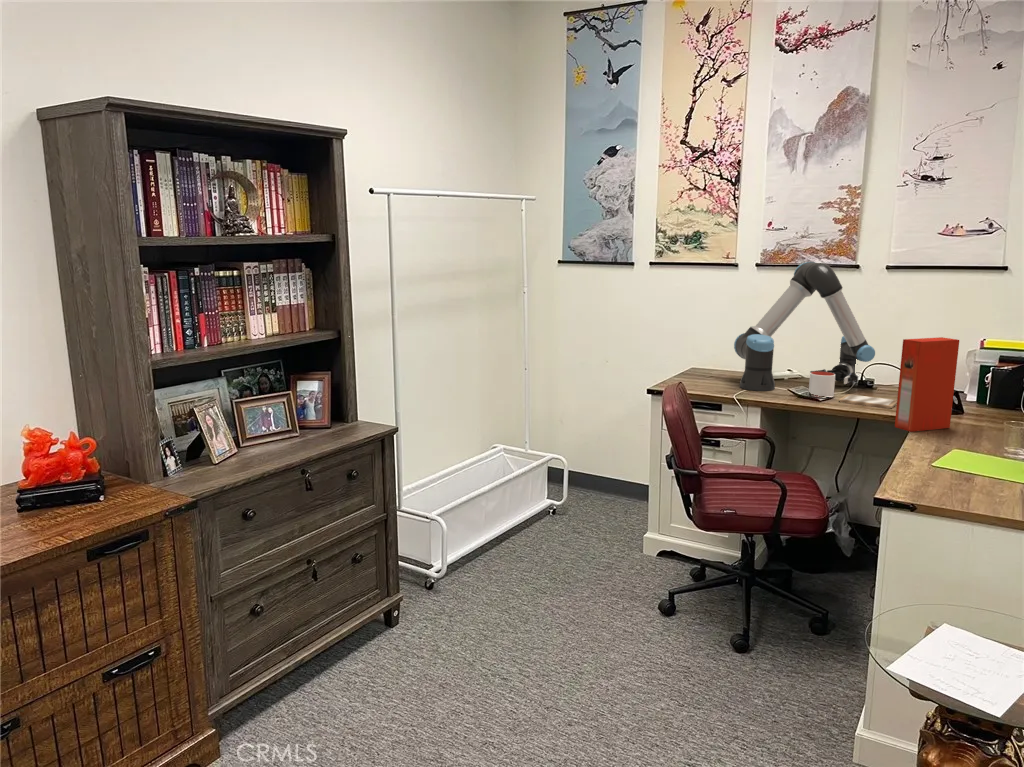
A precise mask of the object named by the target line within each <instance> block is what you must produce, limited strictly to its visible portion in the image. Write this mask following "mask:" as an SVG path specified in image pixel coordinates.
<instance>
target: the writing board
mask: <svg viewBox="0 0 1024 767" xmlns="http://www.w3.org/2000/svg"><path fill="white" fill-rule="evenodd" d="M838 401H840V402H839V403H841V402H845V403H844V404H849V403H851V404H850V405H857V404H858V405H859V406H865V405H866V407H872V406H873V407H874V408H880V407H883V408H882V409H888V408H892V407H893V408H894V407H895V406H897V405H896V404H897V399H896V400H895V399H890V398H882V397H873V396H864V395H857V394H849V393H848V394H846V395H844V396H843V397H841V398H839V399H838ZM893 408H892V409H893Z"/></svg>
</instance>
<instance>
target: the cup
mask: <svg viewBox="0 0 1024 767" xmlns="http://www.w3.org/2000/svg"><path fill="white" fill-rule="evenodd" d="M808 383H809V384H808V393H809V392H810V393H811V394H814V395H818V396H833V397H834V396H835V385H836V384H835V383H836V380H835V374H834V373H830V372H811V373H810V372H809V382H808Z"/></svg>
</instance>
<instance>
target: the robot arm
mask: <svg viewBox="0 0 1024 767" xmlns="http://www.w3.org/2000/svg"><path fill="white" fill-rule="evenodd" d="M842 285H843V284H841V281H840V280H839V278H838V276H837V274H836V272H835V271H834V269H833V268H832V267H831V266H830V265H828V264H826V263H825V262H824V263H823V262H815V261H806V262H804V263H803V262H802V263H801V264H799V265H798V266H797V267H796V268H795V270H794V273H793V276H792V278H791V279H790V280H789V286H788V287H787V289H786V290H785V291H783V293H782V294H781V295H780V296H779V298H778V299H777V300H776V301H775V303H773V305H772V306H771V307H770V308H769V309H768V311H767V312H766V313H765V314H764V316H762V317H761V319H760V320H759V321H758V322H757V323H756V325H754V326H753V325H752V326H750V327H749V328H748V329H747V330H746V331H745V333H744V332H743V333H741V334H739V335H738V336H737V337H736V338H735V340H734V343H733V349H734V351H735V353H736V354H737V356H738V357H740V358H741V359H743V360H745V361H744V362H745V364H744V372H743V374H742V376H741V379H740V381H739V388H740V389H743V390H749V391H756V392H758V391H759V392H767V391H774V390H775V388H776V382H775V378H774V375H773V365H774V364H773V362H774V348H775V341H774V339H773V337H772V336H773V335H774V334H775V333H776V332H777V331H778V329H779V328H780V327H781V326H782V325H783V323H784V322H785V321H786V320H787V319H788V318H789V317H790V315H792V313H793V312H794V311H795V310H796V308H797V307H799V305H800V304H801V303H802V302H803V300H804V299H805V298H807V297H808V298H809V297H811V296H813V294H814V293H815V292H816V291H817V293H818V294H819V297H820V298H821V299H824V301H825V303H826V305H827V306H828V308H829V310H830V312H831V314H832V316H833V317H834V320H835V322H836V324H837V325H838V328H839V330H840V331H841V333H842V336H841V340H840V343H841V344H840V347H841V348H840V349H839V359H840V362H838V364H837V365H835V366H834V367H832V369H828V370H826V369H825V368H823V369H820V370H811V371H809V374H810V373H811V372H830V373H834V374H835V382H843V384H844V385H846V384H849V383H853V382H855V383H858V381H859V376H858V375H857V374H855V364H856V359H857V361H859V362H864V363H869V362H871V361H872V360H873V359H874V358H875V356H876V350H875V348H874V347H873V346H871V345H870V344H869V343H868V340H867V339H866V337H865V335H864V333H863V331H862V329H861V328H860V325H859V323H858V321H857V319H856V317H855V315H854V314H853V311H852V310H851V308H850V306H849V302H848V300H846V297H845V295H844V293H843V291H842V290H843V286H842Z"/></svg>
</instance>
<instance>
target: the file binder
mask: <svg viewBox="0 0 1024 767" xmlns="http://www.w3.org/2000/svg"><path fill="white" fill-rule="evenodd" d="M959 347H960V339H957V338H956V339H955V338H950V337H944V336H943V337H942V336H941V337H939V336H938V337H922V338H905V339H904V338H903V339H902V347H901V356H900V357H901V359H900V366H899V367H900V368H899V377H898V390H897V397H896V398H897V399H896V400H897V405H896V408H895V409H896V410H895V411H896V412H895V421H894V428H897V429H900V430H904V431H908V432H910V433H912V432H913V433H914V432H920V431H921V432H922V431H931V430H932V431H933V430H942V429H944V430H945V429H950V428H951V419H952V410H953V403H954V402H953V401H954V393H955V383H956V376H957V374H956V373H957V365H958V357H959V349H960V348H959Z"/></svg>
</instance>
